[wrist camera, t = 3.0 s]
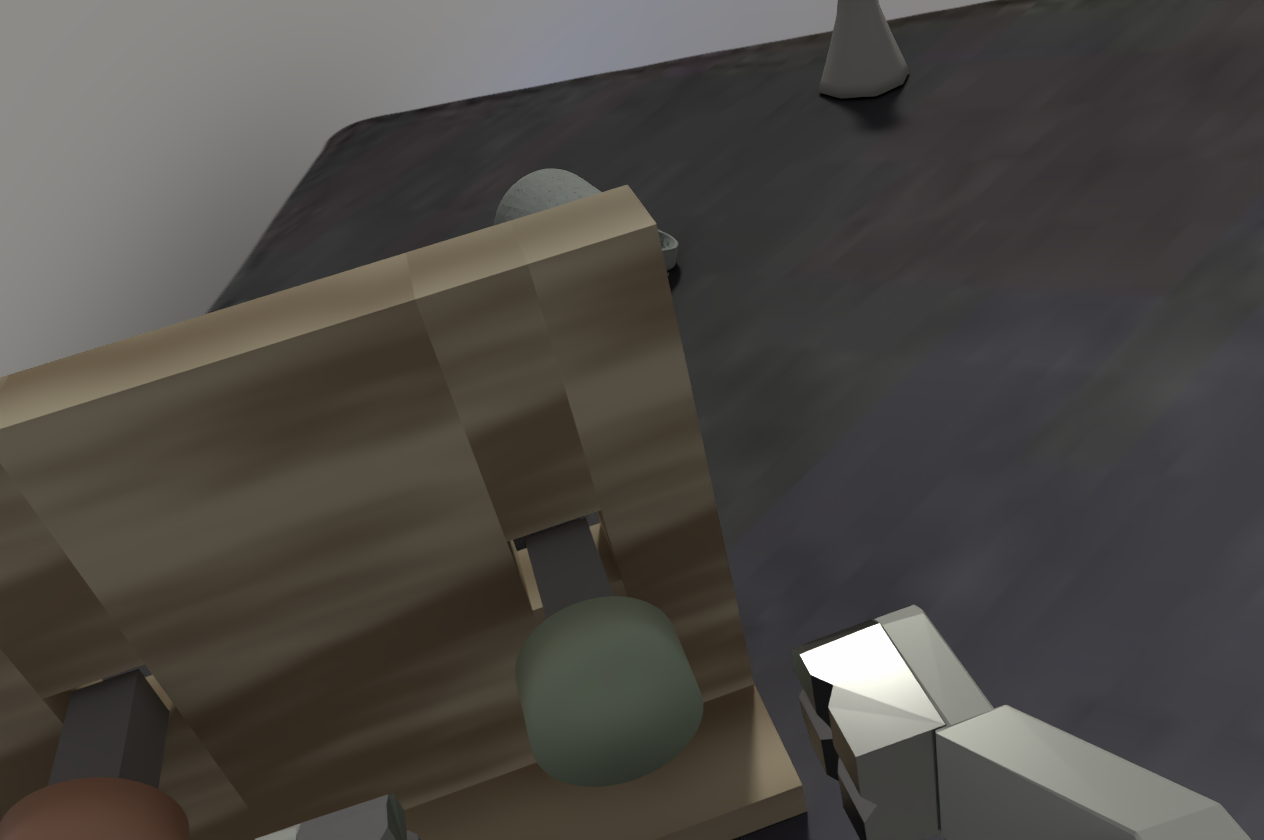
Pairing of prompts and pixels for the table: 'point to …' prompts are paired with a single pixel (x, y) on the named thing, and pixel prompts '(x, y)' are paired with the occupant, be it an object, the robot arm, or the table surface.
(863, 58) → the flask
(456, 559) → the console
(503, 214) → the ceramic mug
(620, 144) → the table surface
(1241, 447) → the table surface
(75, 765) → the button terracotta
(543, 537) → the button sage
